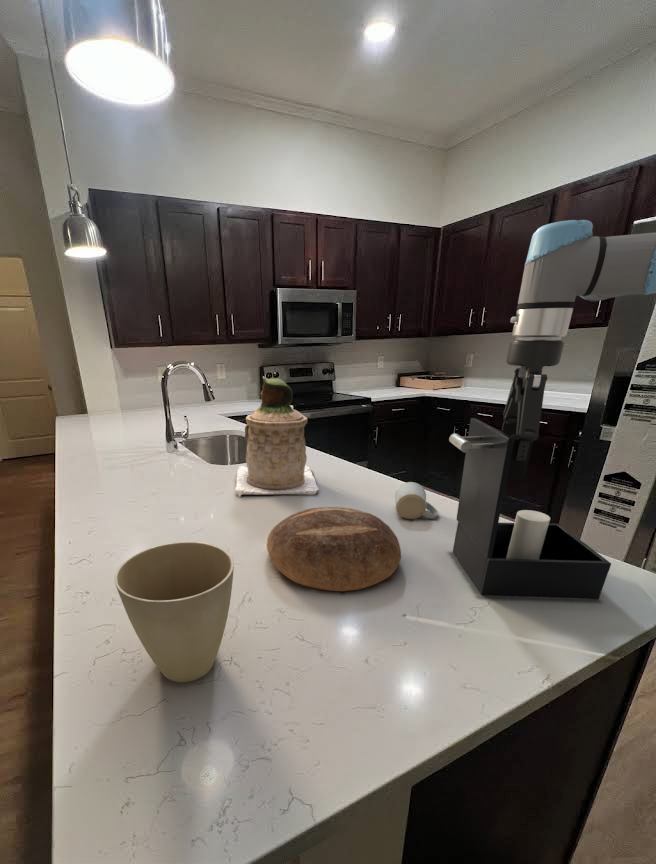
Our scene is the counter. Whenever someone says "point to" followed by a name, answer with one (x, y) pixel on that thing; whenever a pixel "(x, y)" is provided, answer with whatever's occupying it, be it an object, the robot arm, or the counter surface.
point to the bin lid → (482, 481)
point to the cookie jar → (275, 447)
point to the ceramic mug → (413, 502)
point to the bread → (334, 548)
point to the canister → (528, 535)
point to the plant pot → (178, 604)
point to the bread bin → (534, 566)
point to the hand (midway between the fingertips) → (509, 467)
